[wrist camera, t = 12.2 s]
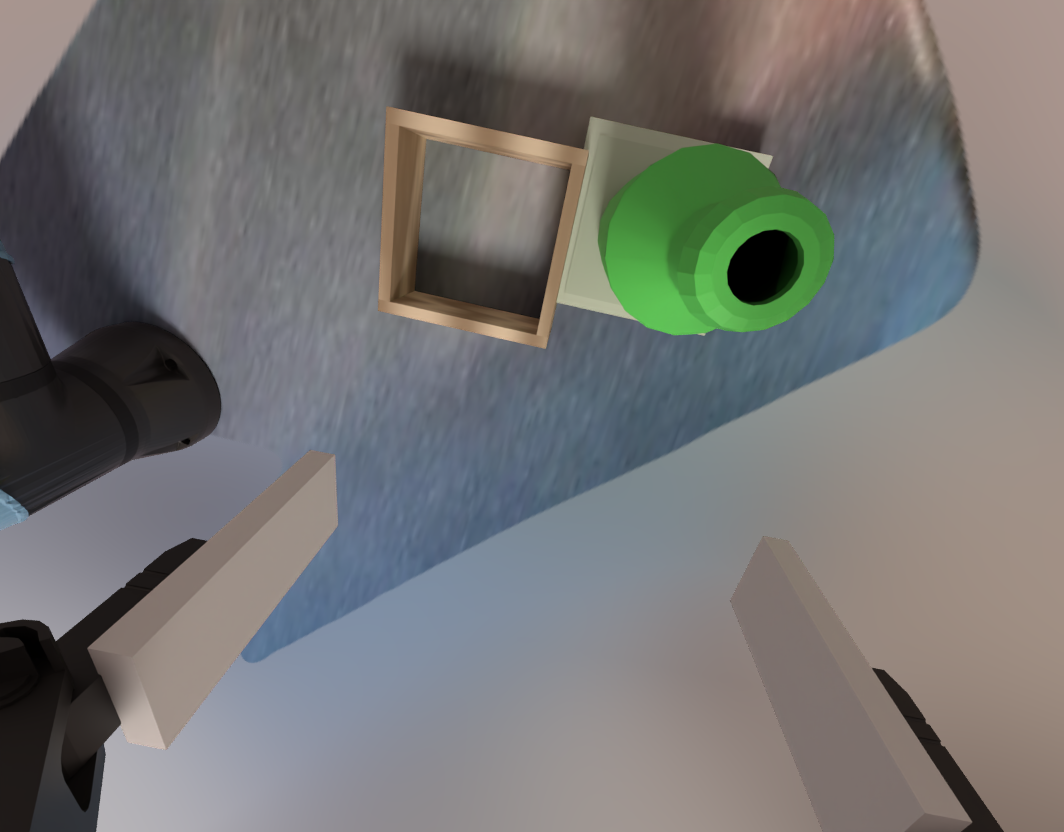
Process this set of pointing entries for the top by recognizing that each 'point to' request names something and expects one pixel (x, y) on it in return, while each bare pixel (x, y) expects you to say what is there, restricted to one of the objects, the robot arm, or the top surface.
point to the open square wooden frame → (404, 221)
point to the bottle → (713, 244)
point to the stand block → (608, 169)
